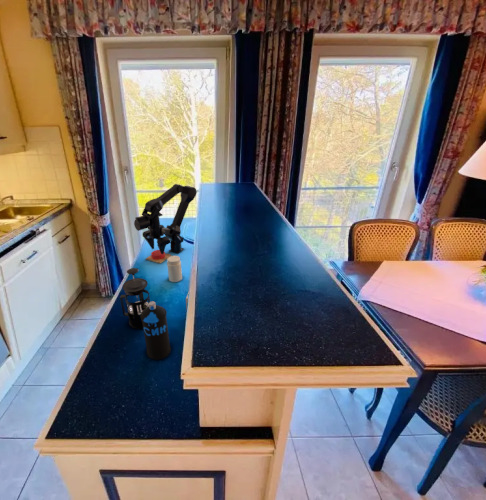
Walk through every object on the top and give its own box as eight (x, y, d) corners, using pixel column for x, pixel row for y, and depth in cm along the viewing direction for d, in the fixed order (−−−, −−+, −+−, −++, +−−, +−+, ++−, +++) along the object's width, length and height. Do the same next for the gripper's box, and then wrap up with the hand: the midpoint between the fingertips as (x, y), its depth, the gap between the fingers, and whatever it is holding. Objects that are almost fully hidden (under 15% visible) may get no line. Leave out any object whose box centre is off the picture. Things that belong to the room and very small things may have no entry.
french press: (157, 313, 113) (150, 263, 103) (152, 329, 105) (144, 277, 95) (128, 313, 114) (119, 263, 104) (121, 329, 105) (110, 277, 95)
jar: (173, 273, 141) (171, 254, 136) (184, 276, 138) (183, 257, 133) (166, 280, 135) (163, 260, 131) (177, 283, 132) (175, 263, 128)
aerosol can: (147, 342, 99) (140, 296, 90) (171, 340, 99) (165, 294, 90) (145, 361, 91) (136, 312, 82) (170, 358, 92) (164, 310, 83)
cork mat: (156, 252, 163) (156, 251, 163) (171, 255, 158) (170, 254, 158) (145, 259, 155) (145, 258, 155) (160, 263, 151) (160, 262, 150)
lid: (152, 260, 152) (151, 256, 151) (151, 254, 159) (150, 250, 158) (165, 258, 154) (165, 254, 153) (164, 252, 160) (164, 249, 159)
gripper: (177, 225, 147) (179, 251, 154) (157, 217, 159) (160, 242, 166) (159, 231, 140) (162, 258, 147) (140, 222, 152) (144, 248, 159)
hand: (157, 251), depth 155 cm, fingers open, 9 cm apart
